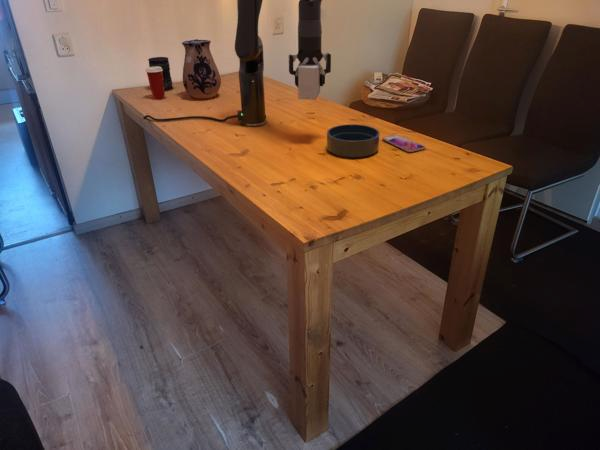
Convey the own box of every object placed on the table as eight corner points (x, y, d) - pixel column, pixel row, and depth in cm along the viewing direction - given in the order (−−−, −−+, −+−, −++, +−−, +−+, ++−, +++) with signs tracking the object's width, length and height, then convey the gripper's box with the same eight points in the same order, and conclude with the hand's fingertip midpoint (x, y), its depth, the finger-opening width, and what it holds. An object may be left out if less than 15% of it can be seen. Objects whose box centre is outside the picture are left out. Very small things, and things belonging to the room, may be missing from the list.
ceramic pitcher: (189, 103, 207) (181, 45, 194) (180, 93, 224) (172, 39, 211) (226, 98, 213) (220, 42, 200) (215, 89, 230) (209, 36, 217)
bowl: (332, 160, 144) (333, 143, 141) (322, 142, 159) (322, 126, 156) (384, 157, 146) (386, 139, 143) (370, 139, 161) (371, 122, 158)
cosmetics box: (317, 100, 149) (316, 67, 144) (298, 99, 150) (297, 67, 145) (321, 92, 158) (321, 60, 153) (303, 92, 159) (302, 60, 154)
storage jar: (155, 87, 236) (149, 57, 228) (174, 86, 237) (169, 56, 229) (151, 91, 227) (146, 60, 220) (171, 91, 228) (166, 60, 221)
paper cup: (170, 97, 218) (165, 67, 211) (158, 100, 212) (153, 70, 205) (159, 95, 221) (154, 65, 214) (147, 98, 216) (141, 68, 209)
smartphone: (397, 134, 162) (426, 147, 150) (397, 136, 162) (425, 149, 151) (381, 137, 159) (409, 150, 147) (381, 139, 159) (408, 153, 148)
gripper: (329, 32, 148) (328, 83, 157) (286, 33, 147) (287, 85, 155) (334, 35, 142) (332, 88, 150) (288, 36, 140) (290, 90, 149)
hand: (309, 86), depth 153 cm, fingers closed on cosmetics box, 7 cm apart
